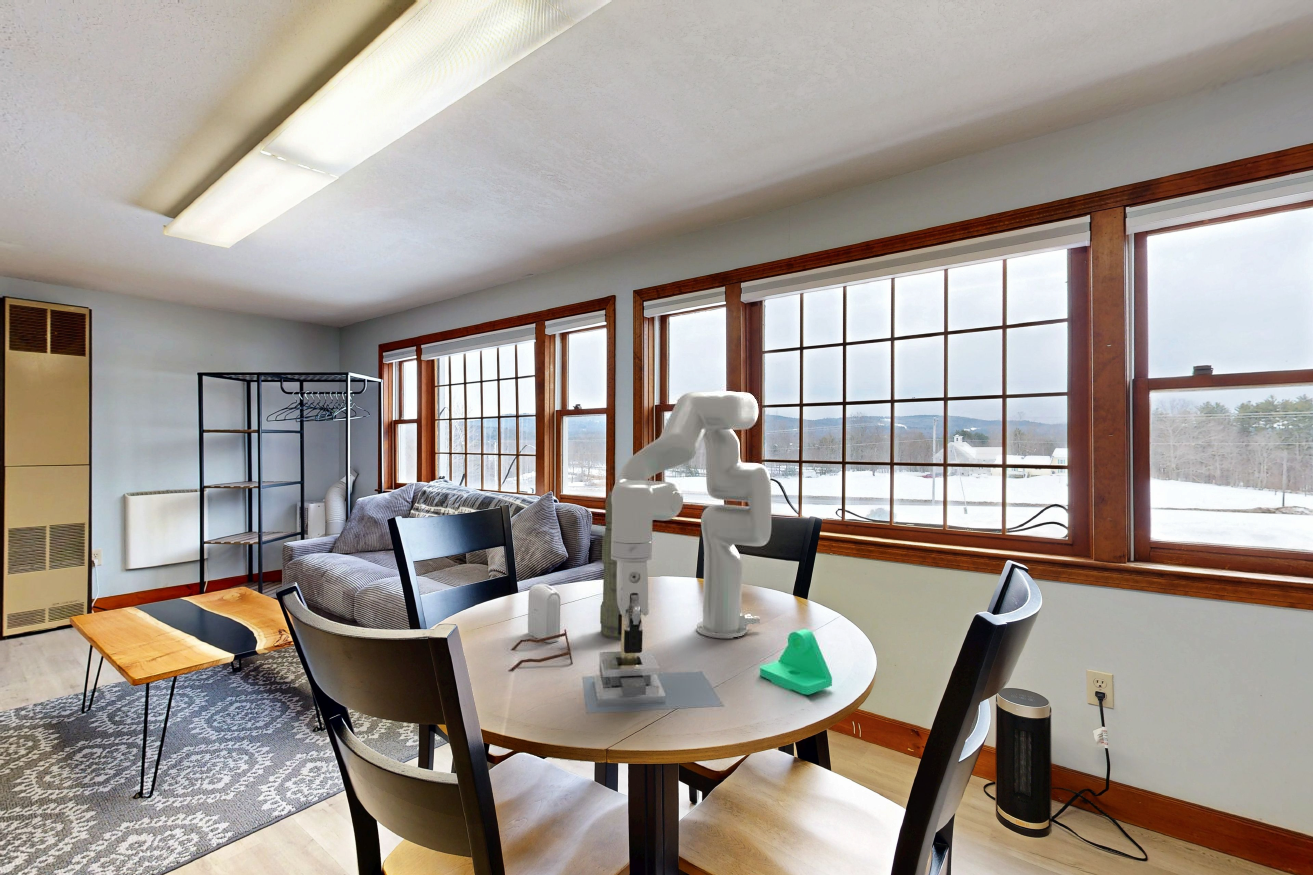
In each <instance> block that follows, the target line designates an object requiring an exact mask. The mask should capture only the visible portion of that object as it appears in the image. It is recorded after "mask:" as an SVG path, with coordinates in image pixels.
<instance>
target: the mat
mask: <svg viewBox="0 0 1313 875" xmlns="http://www.w3.org/2000/svg"><path fill="white" fill-rule="evenodd" d="M657 677H658V679H659V682H660V684H661V686H662V688H663V690H664V693H665V695H666V703H649V704H629V705H610V706H598V705H597V699H596V693H595V687H594V675H591V676H589V675H588V676H582V685H583V686H582V687H583V693H584V701H585V710H586V714H601V713H619V712H620V713H621V712H622V713H623V712H624V713H625V712H637V711H639V712H641V711H642V712H643V711H658V710H661V711H662V710H675V709H677V710H678V709H695V708H713V707H715V708H716V707H717V708H718V707H725V704H724V703H723V701H722V700H721V698H720V696H719V695H718V694H717V692H716V691H715V689H714V688H713V686H712V685H711V683H710V682H709V680H708V679H707V677H706V676H705V674H704V672H703V671H685V672H684V671H683V672H681V671H680V672H659V675H657Z"/></svg>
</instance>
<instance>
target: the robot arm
mask: <svg viewBox="0 0 1313 875" xmlns="http://www.w3.org/2000/svg"><path fill="white" fill-rule="evenodd" d="M757 402H758V401H757V399H755V397H754V396H753V395H752V394H751V393H749V392H739V391H738V392H736V391H730V390H729V391H726V390H725V391H724V390H717V391H715V390H714V391H690V392H687V393H684V394H683V395H681V396H680V397H679V398H678V400H677V401H676V403H675V405H674V407H673V409H672V411H671V413H670V415H669V418H668V420H667V422H666V423H665V425H664V428H662V432H661V433H660V435H659V437H658V438H657V439H655V440H653V441H652V442H650V443H649V444H647V445H646V446H645V447H643V448H642V449H640V450H639V451H637V452H636V453H635V454H634V455H632V456H631V457H630V458H629V459H628V460H627V462H626V463H625V464H624V465H623V467H622V468H621V471H620V472H619V475H618V477H617V479H616V481H615V483H614V486H613V488H612V490H613V491H612V490H611V492H612V497H611V502H612V538H611V559H613V560H616V561H617V604H618V607H619V613H621V614H618V635H620V636H622V615H623V616H624V617H625V621H626V630H624V652H625V653H641V652H642V651H643V633H644V632H643V631H644V630H643V622H642V621H643V620H642V615H643V616H644V617H647V616H648V615H649V613H650V612H649V610H650V609H649V573H648V570H649V569H648V561H650V560H652V555H653V553H652V552H653V551H652V549H653V521H655V520H656V521H670V520H671V519H674V518H676V517H677V516H678V515H679V513H680V512H681V510H682V509H683V504H684V496H683V493H682V490H681V489H680V488H679V487H678V486H677V485H676V484H674V483H672V482H669V481H658V480H657V481H656V480H649V479H650V478H651V477H654V476H655V475H657V474H659V473H661V472H665V471H667V470H670V469H673V468H677V467H679V466H682V465H685V464H687V463H689V462H690V461H691V460H693V459H694V458H695V457H696V454H697V453H698V452H697V451H698V449H699V447H700V445H701V442H702V440H703V442H704V447H705V473H706V474H705V479H706V481H705V482H706V491H707V493H708V495H709V496H710V497H711V498H713V499H716V500H721V501H735V502H746V503H747V504H748V506H743V505H735V504H734V505H733V504H732V505H731V504H713V505H710V506H708V507H707V508H706V509H704V510H703V512H702V513H701V518H700V525H701V526H700V527H701V533H702V534H701V535H702V540H703V553H704V554H703V559H704V561H703V594H702V595H703V596H702V599H703V601H702V603H703V604H702V606H703V607H702V608H703V609H702V621H700V622H698V623H697V624H696V631H697V632H698V633H699V634H701V635H702V636H706V637H709V638H713V639H714V638H716V639H734V638H733V637H737V636H741V635H743V634H745V633H746V632H747V633H748V625H760V623H761V618H760V616H759V615H755V616H752V615H751V614H744V613H743V612H742V589H743V586H742V582H743V580H742V579H743V576H742V575H743V561H742V557H741V554H740V553H739V551H738V549H737V548H736V546H735V545H741V546H749V547H762V546H765V545H766V544H767V543H768V542H769V541H770V540H771V539H770V538H771V535H772V486H771V483H772V482H771V476H770V473H769V471H768V469H767V468H766V467H765V466H764V465H762V464H761V463H756V462H742V461H741V453H740V452H741V451H740V450H741V449H740V447H741V445H740V440H739V438H738V436H737V435H736V433H735V432H734V431H737V430H749V429H750V428H752V427H753V426H754V425H755V424H756V422H757V421H758V416H759V406H758V403H757ZM630 601H631V602H630ZM629 618H631V619H630V620H629ZM747 633H746V634H747ZM746 634H745V635H746Z"/></svg>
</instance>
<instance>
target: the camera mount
mask: <svg viewBox="0 0 1313 875" xmlns="http://www.w3.org/2000/svg"><path fill="white" fill-rule="evenodd" d="M759 676H760V677H763V678H764V679H767V680H769V681H771V683H773V684H775V685H777V686H780V687H782V688H783V689H784V688H785V690H786V689H787V690H788V691H792V690H793V691H794V692H797V693H800V694H802V695H811V694H815V693H816V692H817V693H818V692H820V691H823V690H825V689H828V688H830V686H831V687H832V686H833V676H832V675H831V672H830V670H829V668H828V665H827V663H826V661H825V658H824V656H823V653H822V650H821V649H820V647H819V644H818V641H817V639H816V637H815V635H814V633H813V632H812V631H811V630H810V629H805V628H804V629H799V630H796V631H792V632H791V633H789V634H788V637H787V646H786V647H785V649H784V651H783V652H782V654H781V656H780V658H779V659H778V660H776V661H773V662H770V663H766V664H762V665H760V666H759Z"/></svg>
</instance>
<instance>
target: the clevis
mask: <svg viewBox="0 0 1313 875" xmlns="http://www.w3.org/2000/svg"><path fill="white" fill-rule="evenodd" d="M598 658H599V660H598V662H599V664H598V666H599V667H598V674H593V676H594V687H595V693H596V699H597V705H598V706H610V705H629V704H649V703H666V695H665V693H664V690H663V688H662V686H661V684H660V682H659V679H658V677H657V675H659V673H660V666H659V664H658V662H657V660H656V658H655V656H654V654H653V651H652V650H647V649H645V650H642V652H641V653H637V665H626V666H621V650H619V651H618V650H617V651H600V652H599V657H598Z"/></svg>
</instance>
